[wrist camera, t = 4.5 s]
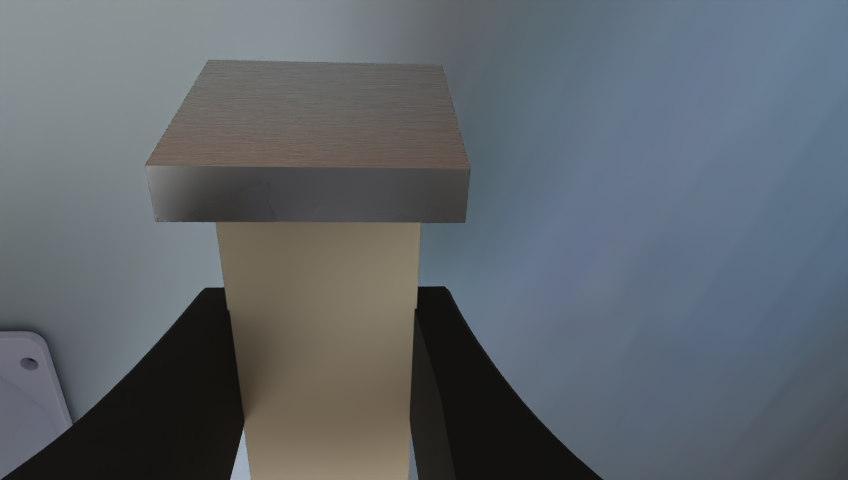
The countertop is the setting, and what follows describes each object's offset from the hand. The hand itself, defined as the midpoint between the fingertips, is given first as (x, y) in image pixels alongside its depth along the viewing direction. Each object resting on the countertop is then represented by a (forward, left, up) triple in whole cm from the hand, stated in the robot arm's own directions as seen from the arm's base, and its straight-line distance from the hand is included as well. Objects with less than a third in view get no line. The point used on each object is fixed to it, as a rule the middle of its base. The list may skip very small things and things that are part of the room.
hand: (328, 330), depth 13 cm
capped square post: (-2, 0, -2) cm, 2 cm away
